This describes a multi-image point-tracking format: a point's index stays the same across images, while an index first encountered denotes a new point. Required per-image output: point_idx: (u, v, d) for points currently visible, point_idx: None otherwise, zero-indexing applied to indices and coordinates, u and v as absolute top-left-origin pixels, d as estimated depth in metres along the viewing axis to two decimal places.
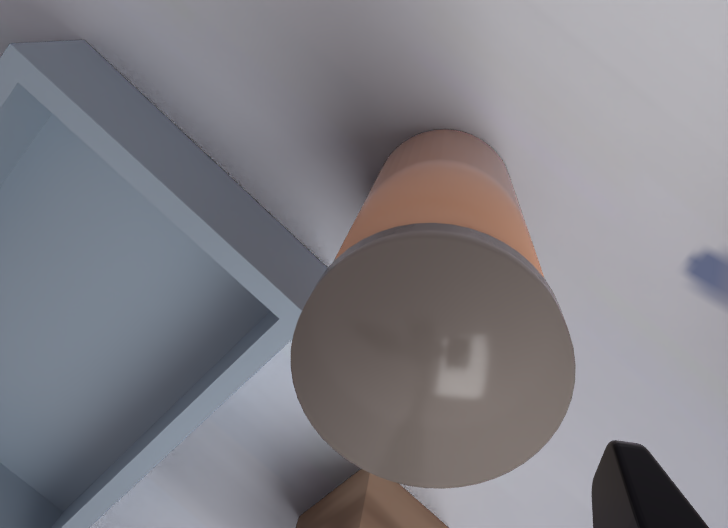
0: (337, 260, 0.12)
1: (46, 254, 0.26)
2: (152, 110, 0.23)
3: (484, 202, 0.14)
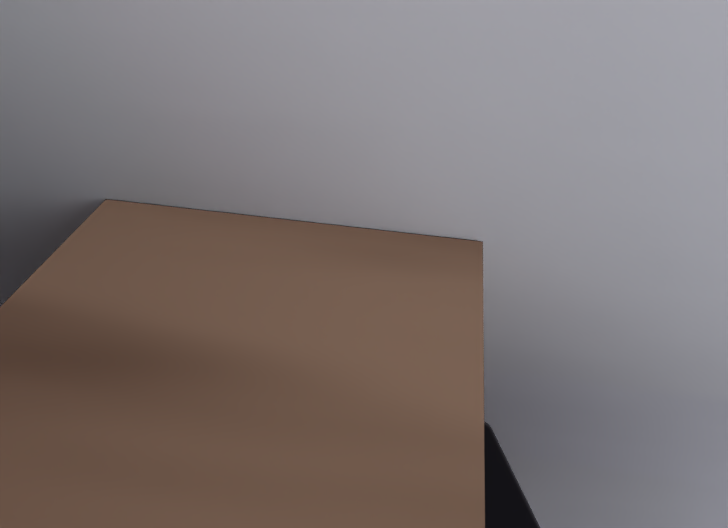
0: None
1: None
2: None
3: None
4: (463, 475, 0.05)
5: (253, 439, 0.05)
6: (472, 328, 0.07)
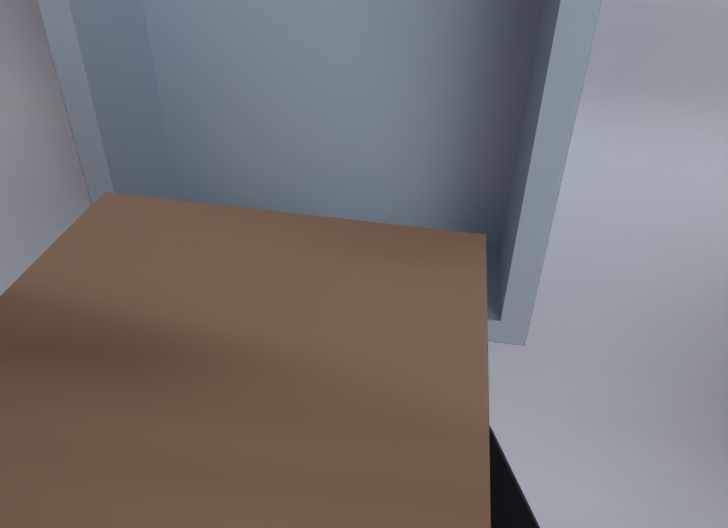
0: None
1: None
2: None
3: None
4: (468, 468, 0.05)
5: (254, 431, 0.05)
6: (476, 321, 0.06)
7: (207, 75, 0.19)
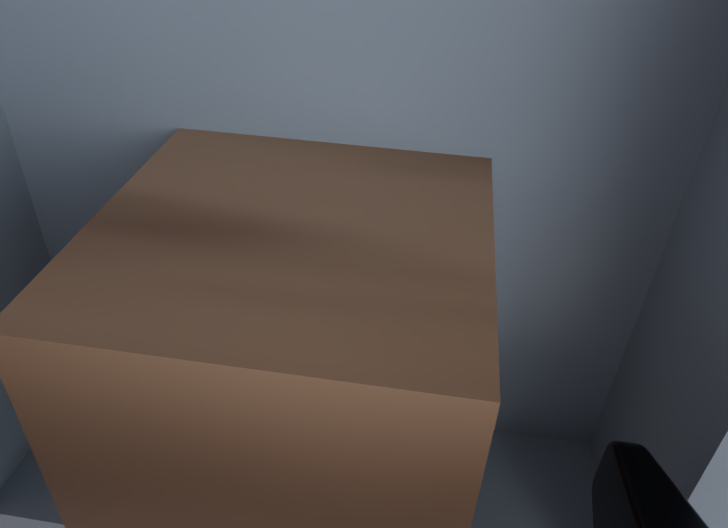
0: None
1: None
2: None
3: None
4: (480, 297, 0.07)
5: (322, 276, 0.07)
6: (485, 212, 0.08)
7: (109, 170, 0.11)
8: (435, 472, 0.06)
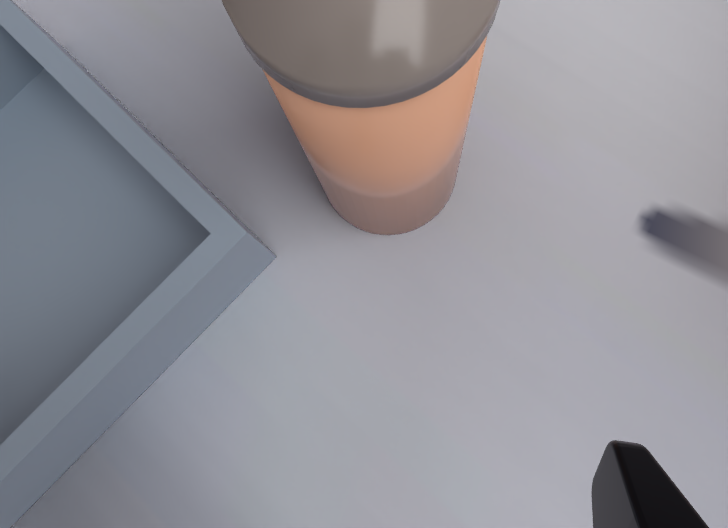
0: None
1: None
2: (110, 94, 0.24)
3: None
4: None
5: None
6: None
7: None
8: None
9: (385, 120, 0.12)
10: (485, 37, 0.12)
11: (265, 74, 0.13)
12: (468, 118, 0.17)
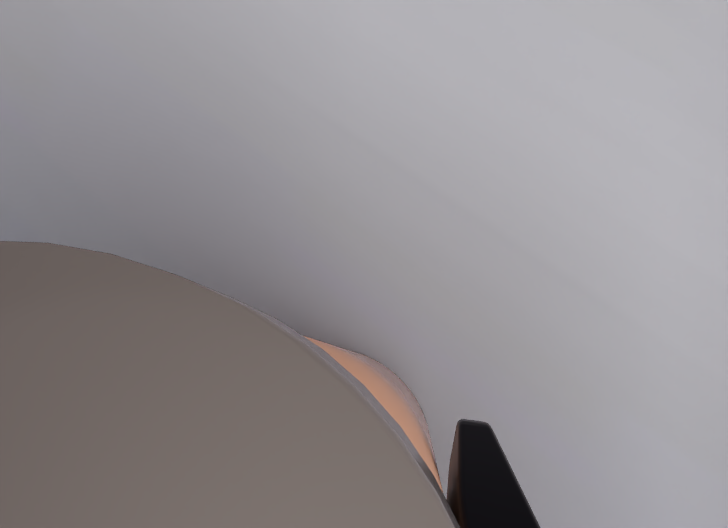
0: None
1: None
2: None
3: (307, 339, 0.07)
4: None
5: None
6: None
7: None
8: None
9: None
10: None
11: None
12: None
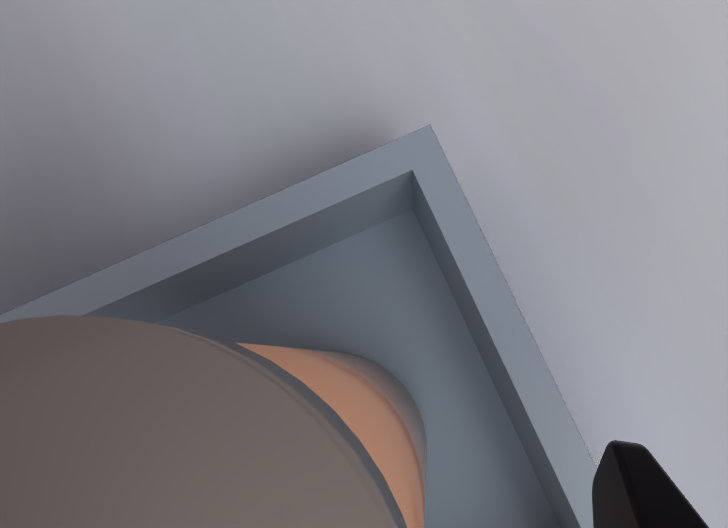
0: None
1: None
2: None
3: (302, 358, 0.08)
4: None
5: None
6: None
7: None
8: None
9: None
10: None
11: None
12: None
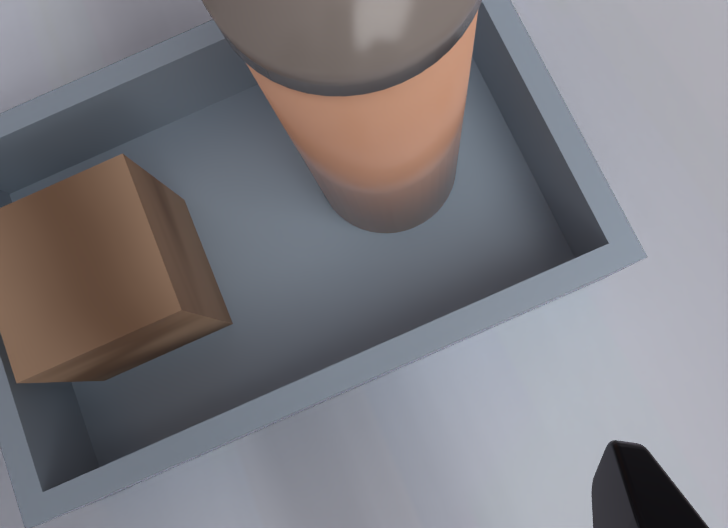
0: None
1: None
2: None
3: None
4: (197, 309, 0.19)
5: (178, 257, 0.19)
6: (217, 316, 0.21)
7: None
8: (138, 311, 0.17)
9: (368, 110, 0.12)
10: (471, 22, 0.11)
11: (246, 63, 0.13)
12: (462, 111, 0.16)
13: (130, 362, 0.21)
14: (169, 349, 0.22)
